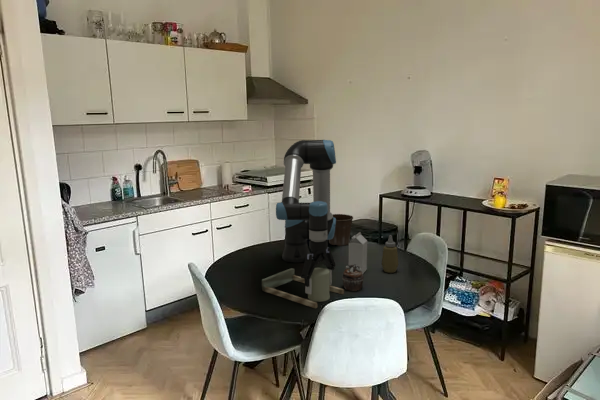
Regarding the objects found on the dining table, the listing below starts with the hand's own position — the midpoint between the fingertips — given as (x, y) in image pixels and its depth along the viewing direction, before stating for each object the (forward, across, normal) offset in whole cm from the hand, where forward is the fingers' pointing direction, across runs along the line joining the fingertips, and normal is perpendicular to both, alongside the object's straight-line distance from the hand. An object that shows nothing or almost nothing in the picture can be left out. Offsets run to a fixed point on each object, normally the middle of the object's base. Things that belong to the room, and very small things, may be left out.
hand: (318, 288), depth 189 cm
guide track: (+4, 0, +9) cm, 10 cm away
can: (+4, 0, 0) cm, 4 cm away
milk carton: (+4, +37, +5) cm, 38 cm away
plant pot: (+4, +72, +41) cm, 83 cm away
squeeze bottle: (+4, +47, -7) cm, 48 cm away
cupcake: (+4, +18, -5) cm, 19 cm away
